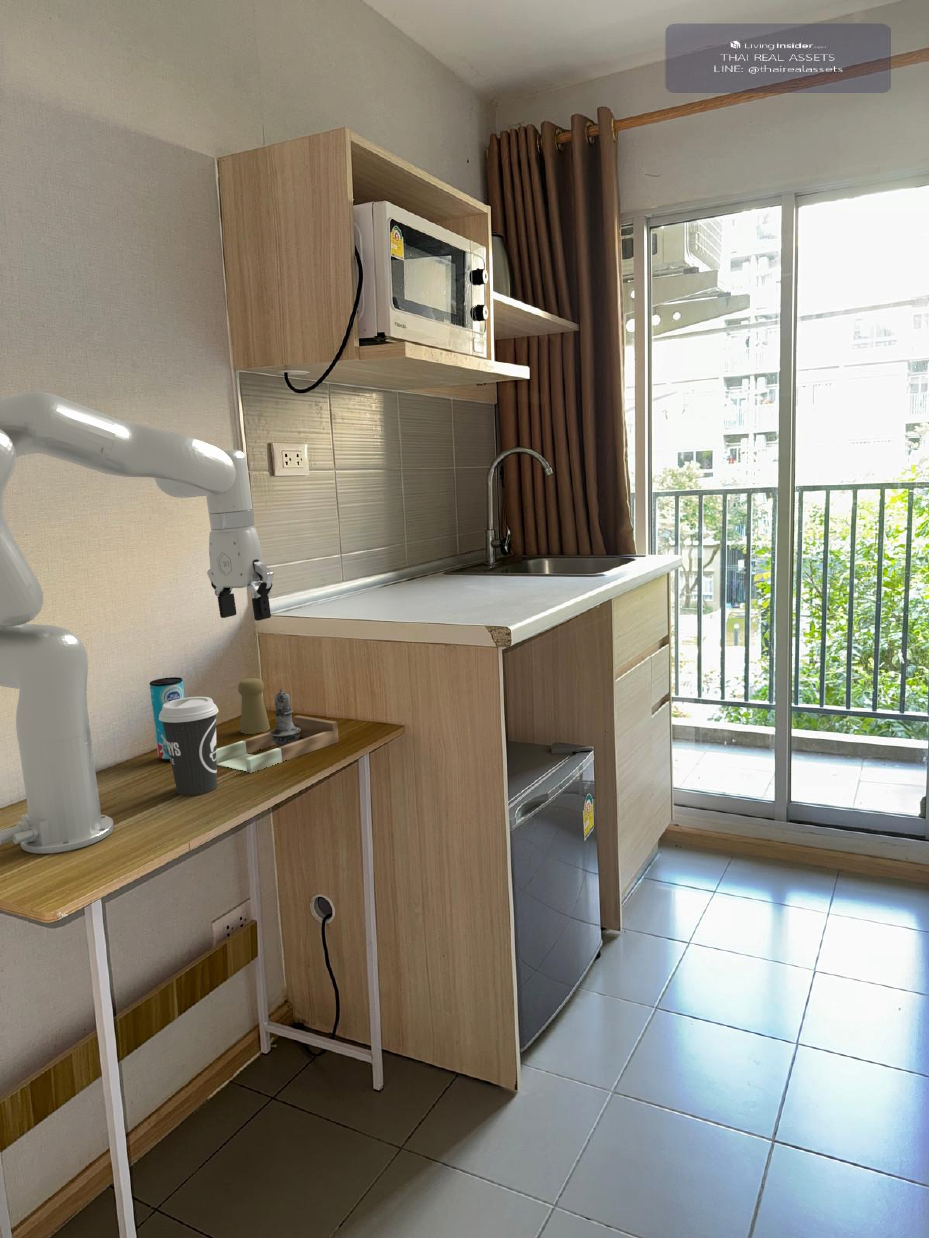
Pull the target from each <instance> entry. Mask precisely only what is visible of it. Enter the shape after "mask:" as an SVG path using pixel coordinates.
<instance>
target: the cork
mask: <svg viewBox="0 0 929 1238" xmlns="http://www.w3.org/2000/svg"><path fill="white" fill-rule="evenodd" d="M237 688H238V692H239V695H240V696H241V707H240V709H241V712H240V733H241V732H242V733H246V734H253V735H256V734H255V733H260V732H264V733H267V732H268V730H269V729H270V730H271V726H270V722H269V719H268V713H267V710H266V705H265V701H264V697H263V696H264V695H263V692H264V689H265V684H264V682H263V680H262V679H260V678H256V677H255V678H253V677H251V678H246V679H245V678H244V679H242V680H240V681H239V683H238V686H237ZM270 730H269V731H270ZM266 731H267V732H266ZM246 734H245V735H246ZM260 734H261V733H260Z"/></svg>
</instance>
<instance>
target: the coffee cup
mask: <svg viewBox="0 0 929 1238" xmlns="http://www.w3.org/2000/svg"><path fill="white" fill-rule="evenodd" d="M219 711H220V710H219V708H218V706H217V704H215V703H214V700H213V699H212V698H211V697H208V696H190V697H189V696H188V697H185V698H181V699H176V700H172V701H169V702H167V703H165V704H163V707H162V711H161V712H160V714H159V720H160V721H162V723H163V727H164V732H165V737H166V741H167V746H168V751H169V756H170V760H171V761H170V765H171V769H172V774H173V779H174V780H173V781H174V785H175V788H176V793H177V794H178V795H180V796H187V797H188V796H189V797H191V796H198V795H204V794H208V793H211V792H212V790H213V791H214V790H216V789H217V787H218V767H217V766H218V765H217V753H216V749H217V714H218V713H219ZM215 788H216V789H215Z"/></svg>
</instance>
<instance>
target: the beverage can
mask: <svg viewBox="0 0 929 1238" xmlns="http://www.w3.org/2000/svg"><path fill="white" fill-rule="evenodd" d="M149 689H150V690H149V691H150V700H151V708H152V709H151V710H152V717H153V725H154V726H153V727H154V734H155V741H156V750H157V757H158V759H159V760H160V761H162V762H171V760H170V756H169V751H168V746H167V741H166V737H165V732H164V727H163V723H162V721H160V720H159V714H160V712H161V711H162V707H163V704H165V703H167V702H169V701H172V700H176V699H181V698H186V697H185V691H184V683H183V678H182V677H176V676H175V677H162V678H157V679H154V680H151V681H150V682H149Z"/></svg>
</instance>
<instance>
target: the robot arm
mask: <svg viewBox="0 0 929 1238" xmlns="http://www.w3.org/2000/svg"><path fill="white" fill-rule="evenodd" d="M33 454H34V455H35V454H40V455H41V454H42V455H44V456H45V455H46V456H48V457H49V456H50V457H52V458H55V459H58V460H61V461H65V462H68V463H72V464H74V465H77V466H80V467H84V468H87V469H90V470H92V471H95V472H97V473H98V472H99V473H102V474H105V475H109V476H117V477H125V478H151V479H152V478H154V480H155V483H156V486H157V487H158V488H159V489H160V491H162V492H163V493H164V494H166V495H168V496H170V497H173V498H179V499H180V498H182V499H186V498H196V497H206V505H207V510H208V517H209V524H210V532H209V536H208V552H209V553H208V554H209V556H208V557H209V569H208V570H207V571H206V573H207V576H208V579H209V580H210V582H211V583H210V585H211V587H212V588H213V590H214V595H215V596H216V597H217V602H218V603H217V605H218V611H219V616H220V618H221V619H227V618H230V617H234V616H236V615H237V607H236V600H235V594H234V593H233V592H232V591H233V589H243V588H246V587H247V589H248V590H249V591H250V592H251V594H252V596H253V597H252V598H251V604H252V609H253V610H252V612H253V618H254V621H263V620H266V619H270V618H271V617H272V614H271V613H272V612H271V606H270V600H269V599H270V598H269V596H271V590H272V588H273V579H274V575H275V574H274V571H273V570H272V569H270V568H268V567H267V566H266V565H265V560H264V555H263V551H262V547H261V542H260V538H259V533H258V531H257V528H256V524H255V515H254V509H253V507H254V506H253V501H252V492H251V486H250V479H249V471H248V464H247V462H248V461H247V458H246V455H245V453H244V452H243V451H242V450H240V449H223V450H222V449H220V448H218V446H215V445H212V444H209V443H207V442H205V441H203V440H200V439H197V438H194V437H192V436H188V435H185V434H182V433H181V434H180V433H178V432H173V431H169V430H166V429H165V430H164V429H159V428H155V427H151V426H147V425H143V424H139V423H134V422H128V421H125V420H122V419H120V418H116V417H114V416H111V415H108V414H106V413H103V412H101V411H98V410H95V409H93V408H90V407H87V406H85V405H83V404H80V403H77V402H74V401H73V400H70V399H67V398H65V397H62V396H59V395H56V394H54V393H51V392H44V391H30V392H25V393H19V394H15V395H10V396H5V397H2V398H0V687H5V688H9V689H16V690H19V691H18V699H17V700H18V701H17V705H16V710H15V711H16V712H15V727H16V728H15V730H16V737H17V741H18V743H17V744H18V749H19V750H18V751H19V756H20V765H21V770H22V777H23V785H24V792H25V798H26V807H27V813H25V814H22V815H21V821H19V822H17V823H16V825H15V826H12V827H10V828H9V827H7V828H4V829H1V830H0V845H4V844H7V843H10V842H13V843H14V844H15V845H17V844H20V848H21V849H22V850H23V851H25V852H26V853H27V852H28V853H31V854H42V855H43V854H45V855H46V854H57V853H64V852H69V851H73V850H78V849H81V848H84V847H88V846H90V845H94V844H95V843H97V842H100V841H102V840H104V839H105V838H107V837H108V836H109V835H111V834H112V832H113V831H114V828H115V826H114V820H113V818H112V817H110V816H108V815H104V814H102V812H101V811H102V810H101V803H100V797H99V796H100V794H99V787H98V781H97V774H96V772H97V771H96V765H95V757H94V749H93V742H92V734H91V727H90V720H89V719H90V718H89V712H88V709H89V708H88V696H87V695H88V694H87V691H88V690H87V689H88V687H87V686H88V676H89V675H88V674H89V673H88V672H89V659H88V652H87V649H86V647H85V644H84V643H83V642H82V640H81V639H80V637H78V635H76V634H75V633H73V632H72V631H70V630H68V629H66V628H63V627H61V626H58V625H57V626H56V625H49V624H48V625H47V624H35V623H34V624H33V623H31V624H27V623H29V622H31V621H32V620H34V619H35V618H36V617H37V616H38V615H39V614H40V612H41V610H42V609H43V607H44V593H43V592H44V591H43V589H42V586H41V584H40V582H39V580H38V578H37V576H36V574H35V573H34V571H33V569H32V568H31V566H30V564H29V562H28V560H27V559H26V557H25V555H24V553H23V551H22V549H21V548H20V546H19V544H18V543H17V541H16V539H15V537H14V535H13V534H12V531H11V529H10V527H9V525H8V523H7V520H6V517H5V514H4V506H3V505H4V495H5V493H6V488H7V486H8V484H9V481H10V480H11V478H12V475H13V473H14V472H15V471H14V470H15V467H16V464H17V458H19V457H22V456H26V455H33ZM257 587H258V588H257Z"/></svg>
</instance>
